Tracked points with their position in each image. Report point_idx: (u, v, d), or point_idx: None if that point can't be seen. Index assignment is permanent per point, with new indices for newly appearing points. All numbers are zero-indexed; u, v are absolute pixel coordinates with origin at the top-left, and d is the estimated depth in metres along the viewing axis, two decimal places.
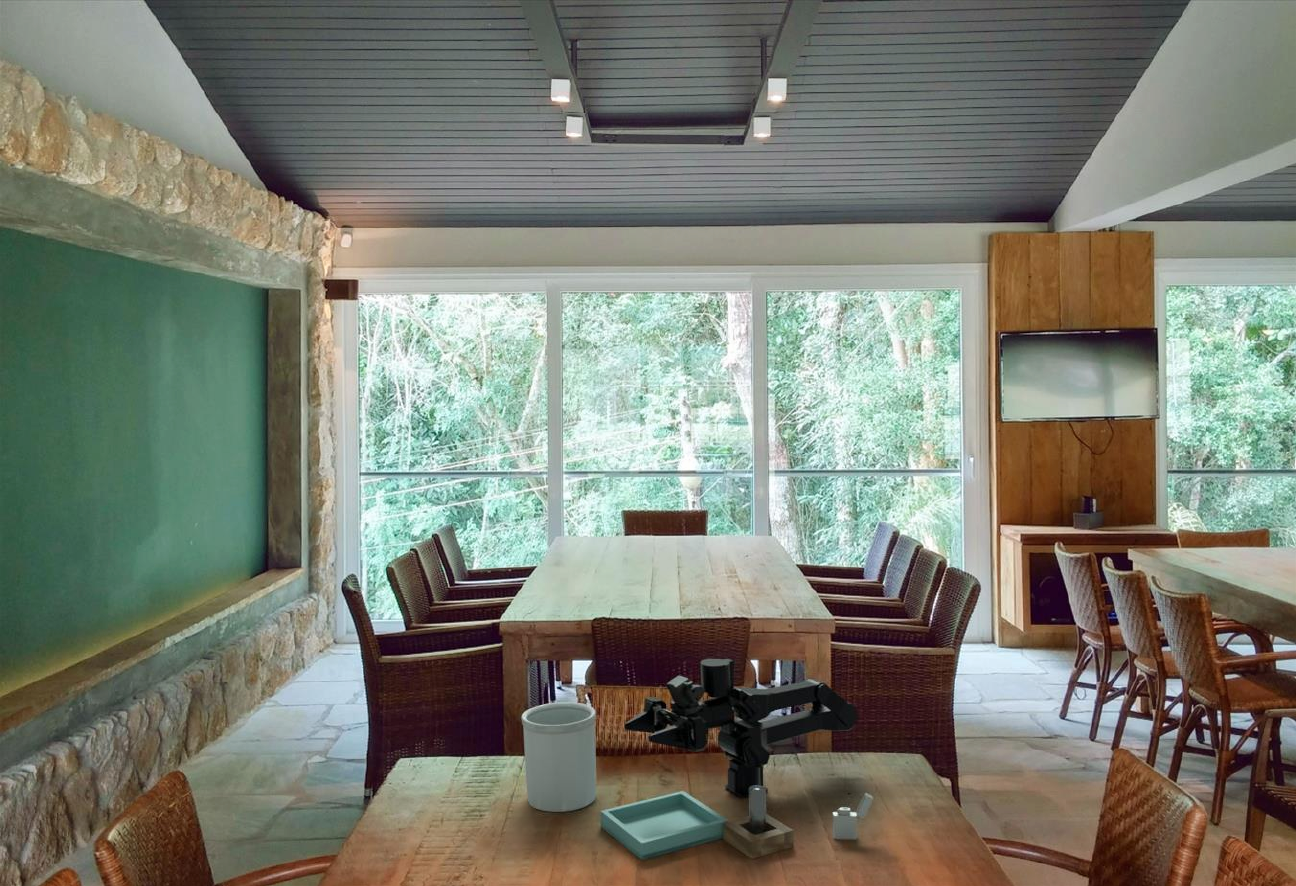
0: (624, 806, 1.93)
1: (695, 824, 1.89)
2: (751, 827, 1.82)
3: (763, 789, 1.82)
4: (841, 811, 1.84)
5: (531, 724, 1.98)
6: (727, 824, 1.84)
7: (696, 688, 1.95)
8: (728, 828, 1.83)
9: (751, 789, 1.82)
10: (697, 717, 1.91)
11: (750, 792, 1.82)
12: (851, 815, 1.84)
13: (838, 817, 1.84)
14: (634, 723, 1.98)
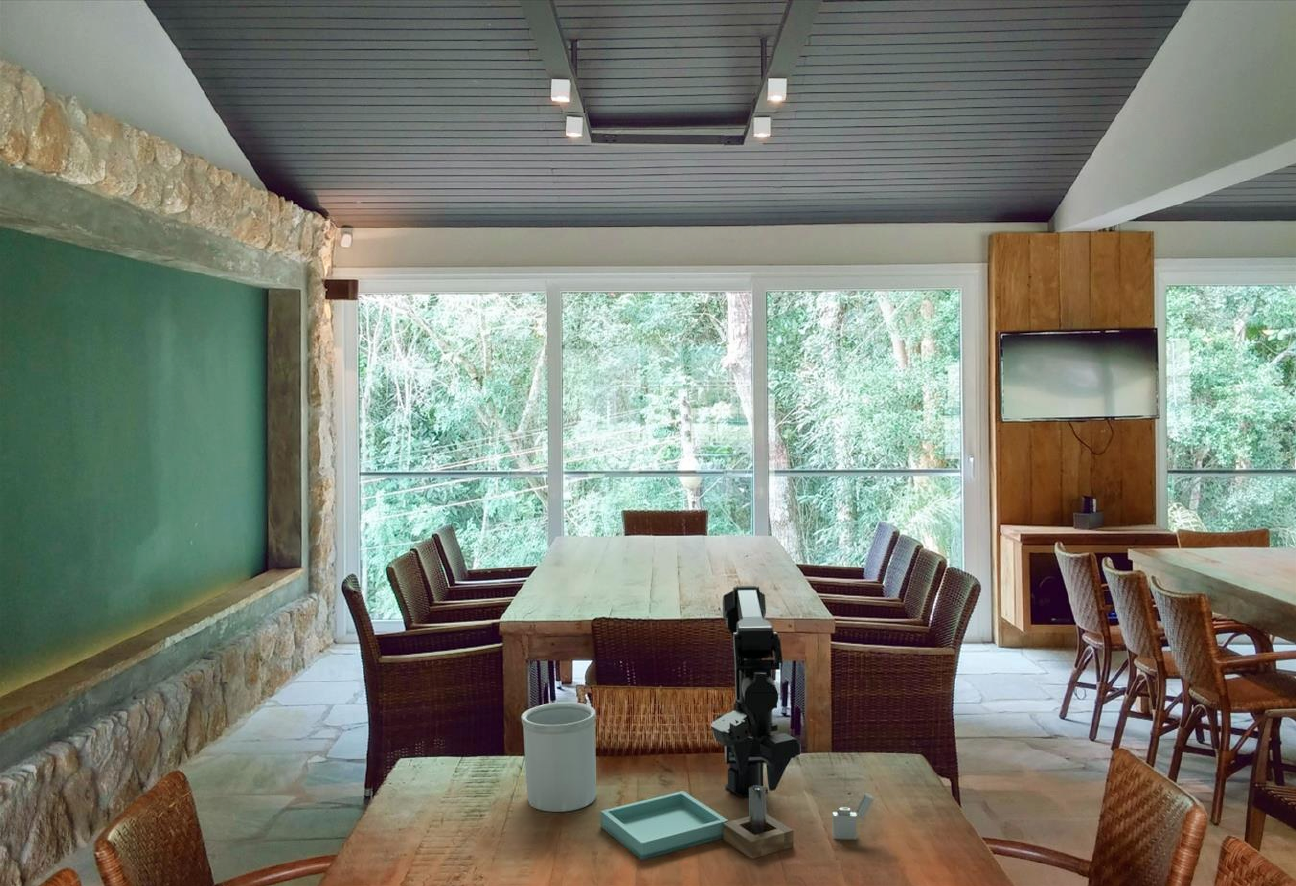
0: (624, 806, 1.93)
1: (695, 824, 1.89)
2: (751, 827, 1.82)
3: (763, 789, 1.82)
4: (841, 811, 1.84)
5: (531, 724, 1.98)
6: (727, 824, 1.84)
7: (736, 733, 1.75)
8: (728, 828, 1.83)
9: (751, 789, 1.82)
10: (769, 751, 1.73)
11: (750, 792, 1.82)
12: (851, 815, 1.84)
13: (838, 817, 1.84)
14: (741, 762, 1.86)
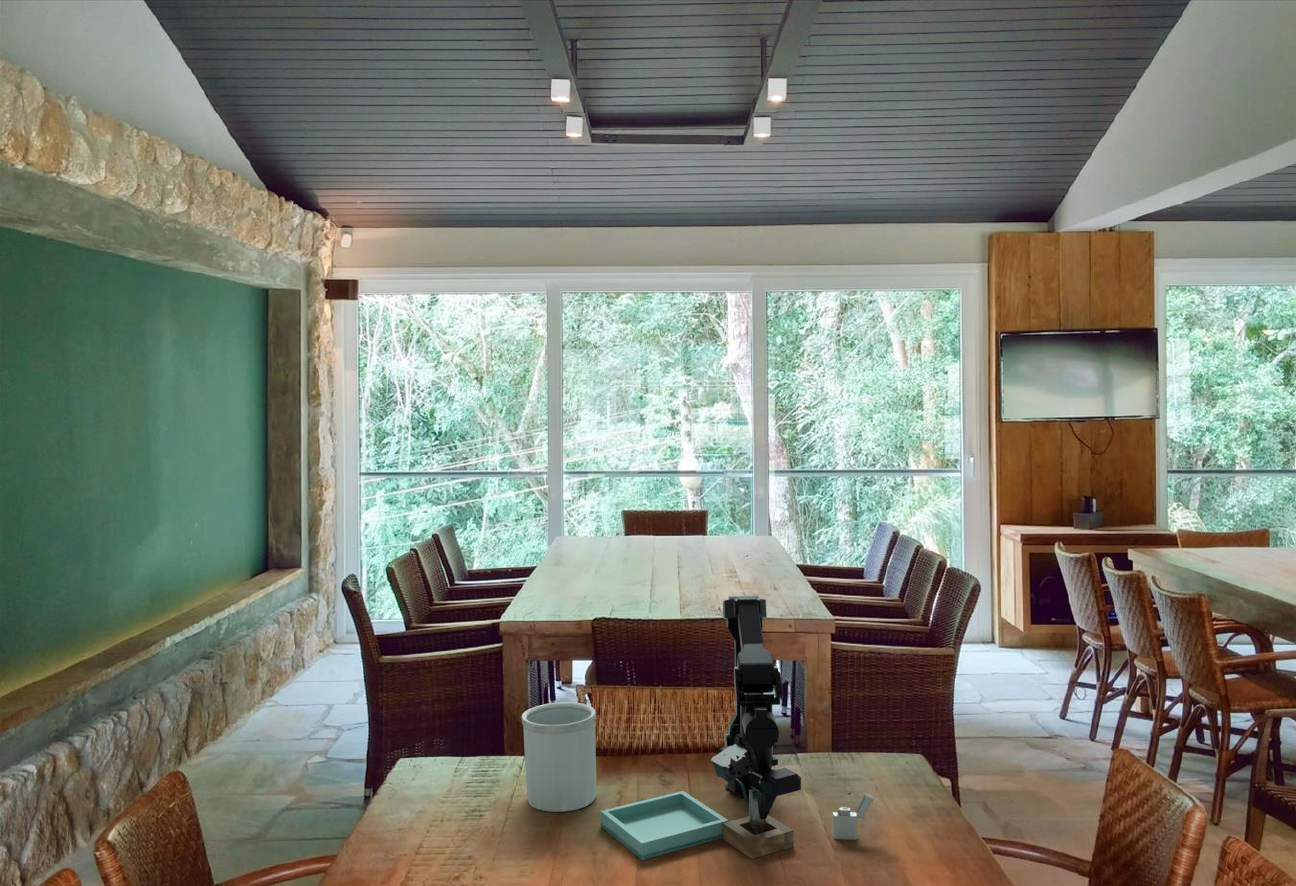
0: (624, 806, 1.93)
1: (695, 824, 1.89)
2: (751, 827, 1.82)
3: None
4: (841, 811, 1.84)
5: (531, 724, 1.98)
6: (727, 824, 1.84)
7: (737, 769, 1.75)
8: (728, 828, 1.83)
9: (751, 789, 1.82)
10: (770, 787, 1.74)
11: (750, 792, 1.82)
12: (851, 815, 1.84)
13: (838, 817, 1.84)
14: None
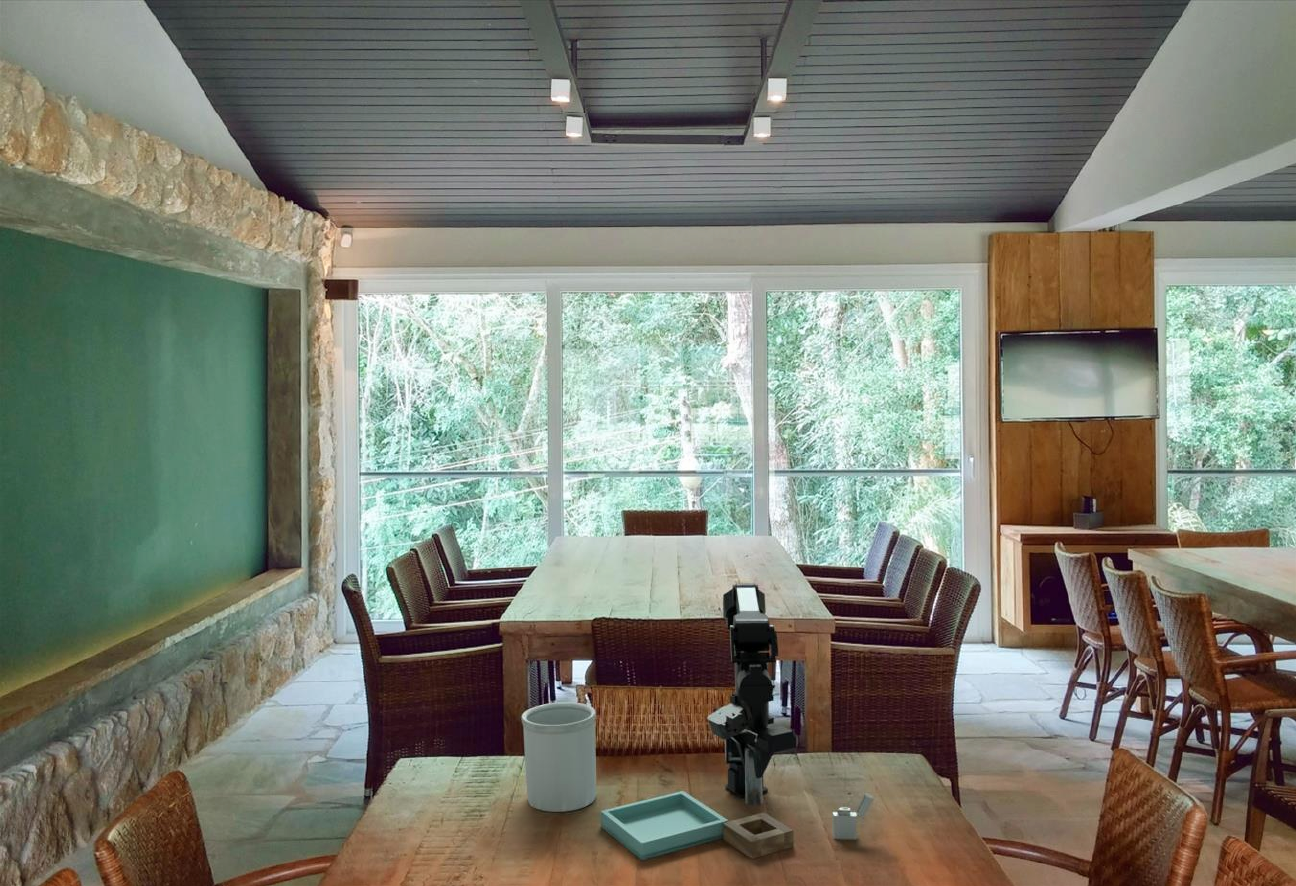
0: (624, 806, 1.93)
1: (695, 824, 1.89)
2: (747, 786, 1.82)
3: None
4: (841, 811, 1.84)
5: (531, 724, 1.98)
6: (727, 824, 1.84)
7: (732, 726, 1.75)
8: (728, 828, 1.83)
9: (747, 748, 1.82)
10: (766, 744, 1.73)
11: (746, 751, 1.81)
12: (851, 815, 1.84)
13: (838, 817, 1.84)
14: None
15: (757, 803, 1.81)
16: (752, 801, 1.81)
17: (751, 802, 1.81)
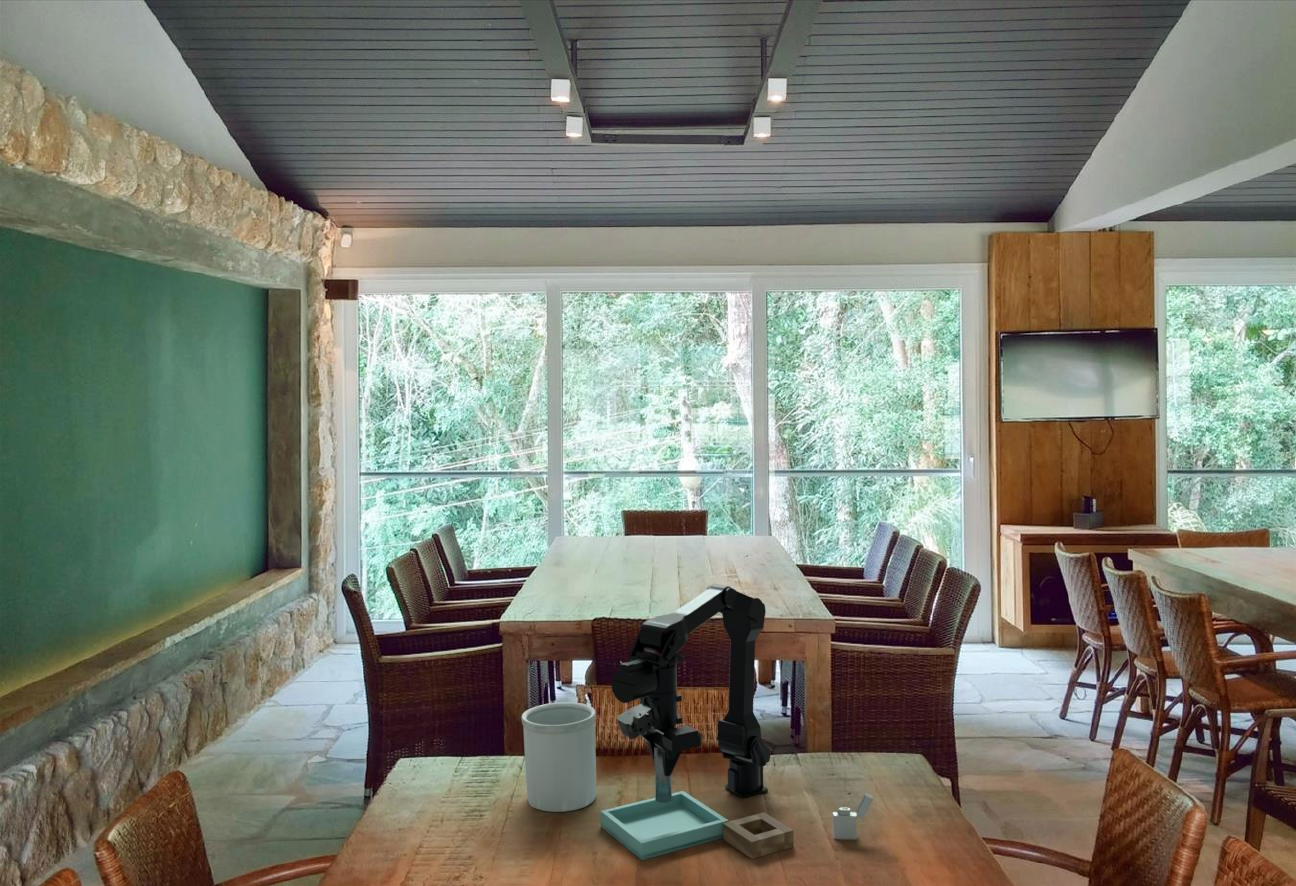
0: (624, 806, 1.93)
1: (695, 824, 1.89)
2: (656, 784, 1.87)
3: None
4: (841, 811, 1.84)
5: (531, 724, 1.98)
6: (727, 824, 1.84)
7: (638, 726, 1.80)
8: (728, 828, 1.83)
9: (656, 747, 1.87)
10: (670, 743, 1.79)
11: (655, 750, 1.87)
12: (851, 815, 1.84)
13: (838, 817, 1.84)
14: None
15: (666, 800, 1.87)
16: (661, 798, 1.87)
17: (660, 799, 1.87)
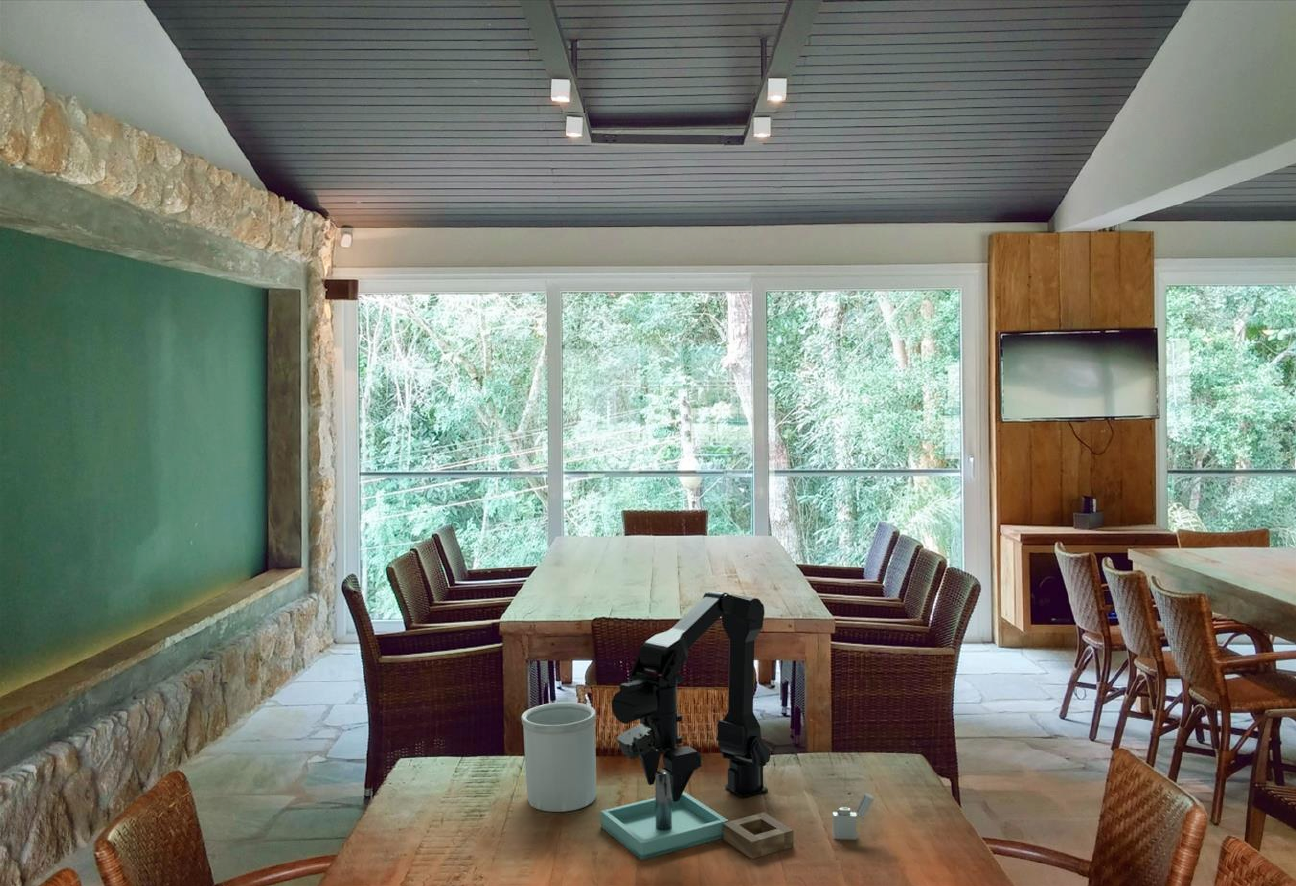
0: (624, 806, 1.93)
1: (695, 824, 1.89)
2: (657, 810, 1.88)
3: None
4: (841, 811, 1.84)
5: (531, 724, 1.98)
6: (727, 824, 1.84)
7: (639, 746, 1.80)
8: (728, 828, 1.83)
9: (657, 773, 1.88)
10: (670, 764, 1.79)
11: (656, 776, 1.88)
12: (851, 815, 1.84)
13: (838, 817, 1.84)
14: (650, 773, 1.92)
15: (666, 827, 1.87)
16: (661, 825, 1.87)
17: (660, 826, 1.87)
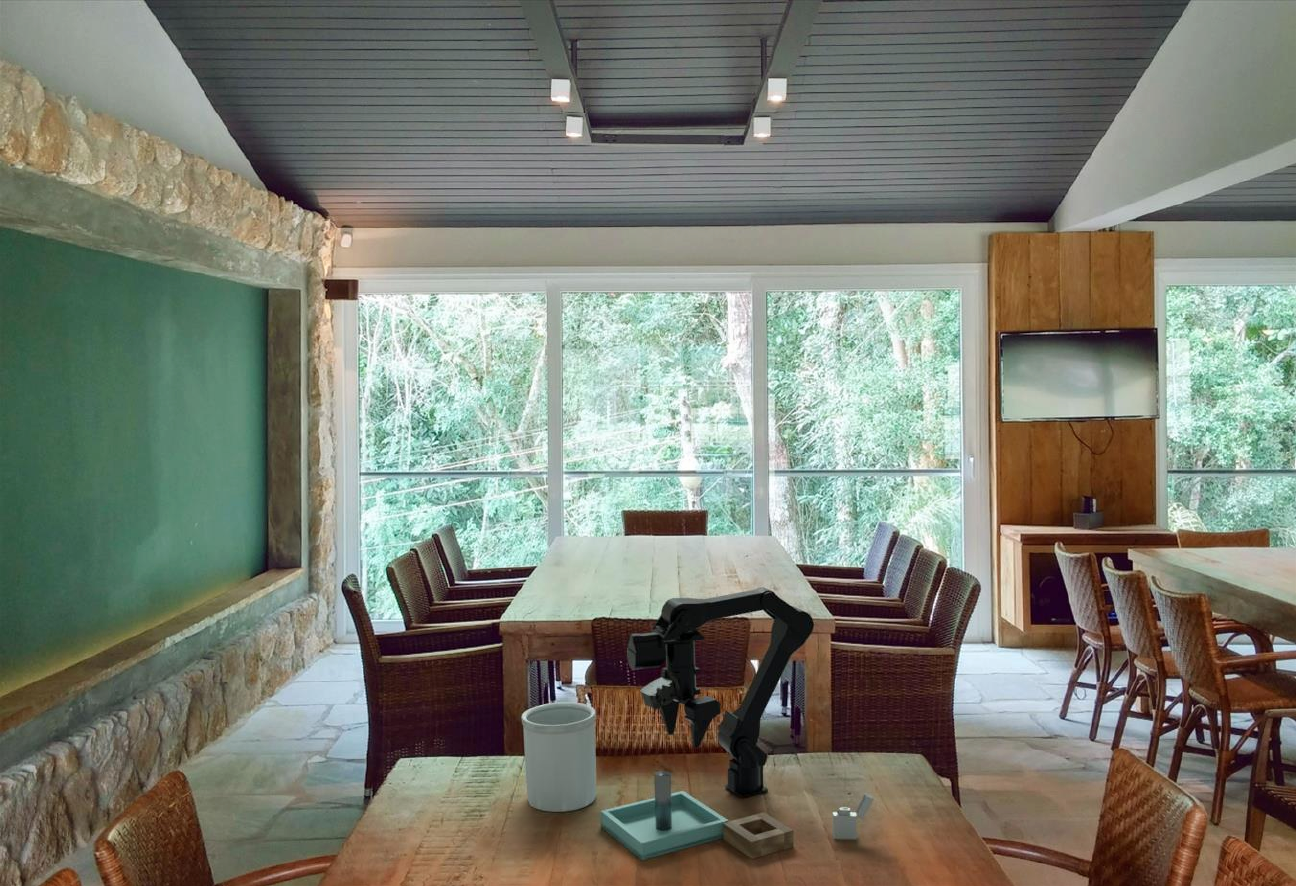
0: (624, 806, 1.93)
1: (695, 824, 1.89)
2: (656, 811, 1.88)
3: (667, 775, 1.87)
4: (841, 811, 1.84)
5: (531, 724, 1.98)
6: (727, 824, 1.84)
7: (662, 696, 1.94)
8: (728, 828, 1.83)
9: (656, 775, 1.88)
10: (692, 712, 1.93)
11: (655, 778, 1.87)
12: (851, 815, 1.84)
13: (838, 817, 1.84)
14: (670, 724, 2.06)
15: (666, 828, 1.87)
16: (661, 826, 1.87)
17: (660, 827, 1.87)
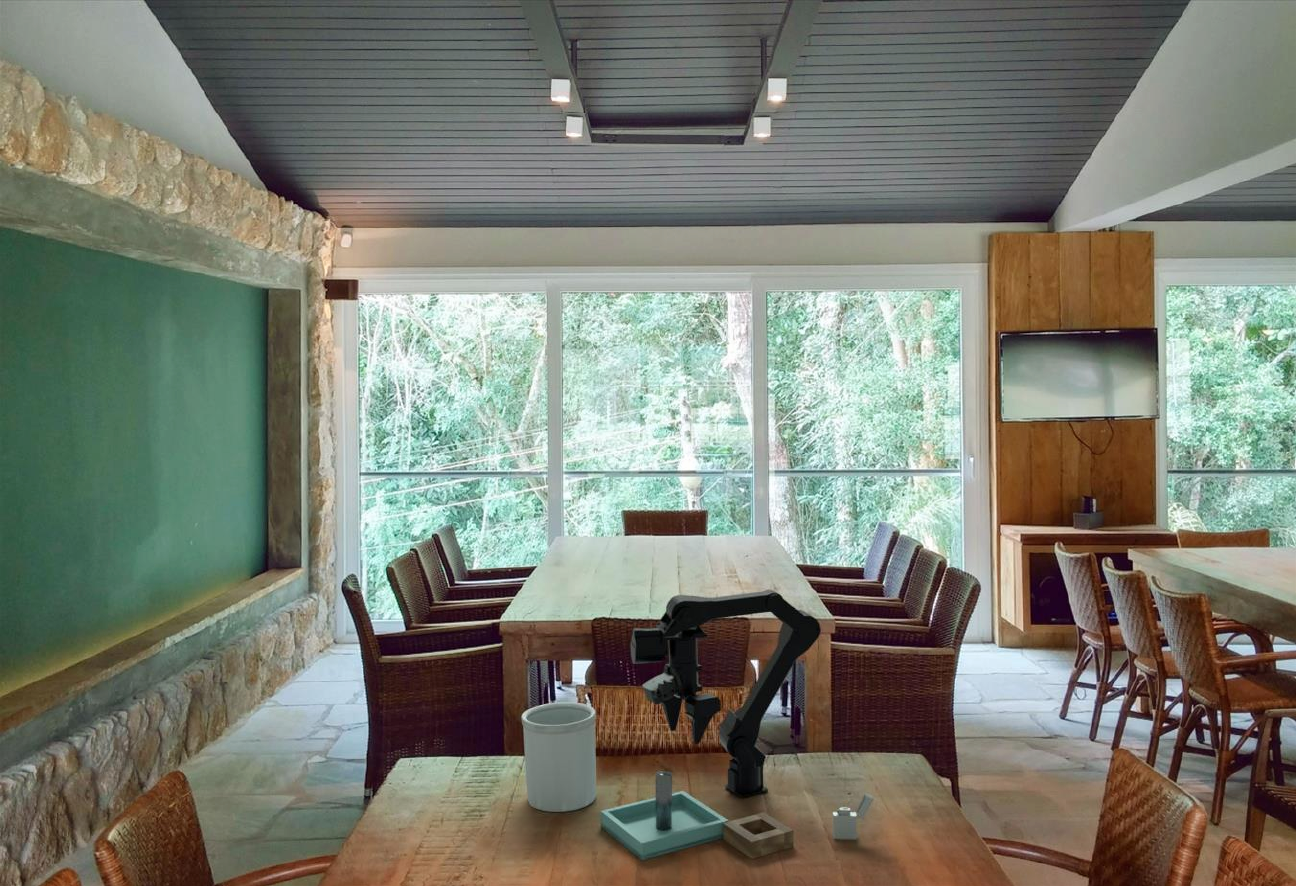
0: (624, 806, 1.93)
1: (695, 824, 1.89)
2: (657, 811, 1.88)
3: (669, 775, 1.87)
4: (841, 811, 1.84)
5: (531, 724, 1.98)
6: (727, 824, 1.84)
7: (663, 692, 1.96)
8: (728, 828, 1.83)
9: (657, 774, 1.88)
10: (692, 708, 1.95)
11: (656, 778, 1.87)
12: (851, 815, 1.84)
13: (838, 817, 1.84)
14: (672, 720, 2.08)
15: (666, 828, 1.87)
16: (661, 826, 1.87)
17: (660, 827, 1.87)
